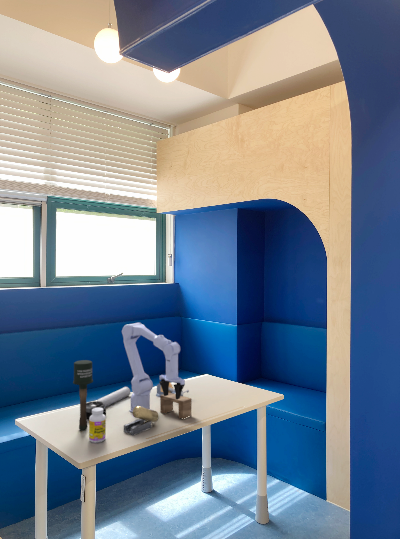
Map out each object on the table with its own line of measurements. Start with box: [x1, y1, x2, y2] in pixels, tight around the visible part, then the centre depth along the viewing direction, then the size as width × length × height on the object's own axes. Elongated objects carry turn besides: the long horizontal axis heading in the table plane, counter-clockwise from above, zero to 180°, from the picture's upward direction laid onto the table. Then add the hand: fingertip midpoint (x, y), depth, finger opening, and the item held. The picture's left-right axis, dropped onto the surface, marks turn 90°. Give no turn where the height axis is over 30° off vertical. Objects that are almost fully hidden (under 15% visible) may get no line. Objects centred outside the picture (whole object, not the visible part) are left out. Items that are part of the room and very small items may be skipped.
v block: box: [123, 418, 152, 436], centre depth 186 cm, size 6×11×3 cm, turn 141°
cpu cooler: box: [86, 400, 107, 421], centre depth 203 cm, size 10×6×10 cm
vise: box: [155, 382, 190, 398], centre depth 231 cm, size 18×10×7 cm, turn 45°
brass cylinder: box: [132, 406, 159, 423], centre depth 189 cm, size 5×12×5 cm, turn 142°
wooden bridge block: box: [159, 393, 192, 420], centre depth 205 cm, size 15×6×8 cm, turn 51°
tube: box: [96, 386, 131, 409], centre depth 223 cm, size 5×5×25 cm
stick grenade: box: [72, 359, 94, 432], centre depth 186 cm, size 8×9×30 cm
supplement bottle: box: [88, 408, 107, 444], centre depth 175 cm, size 7×7×13 cm
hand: (171, 397), depth 198 cm, fingers open, 7 cm apart
